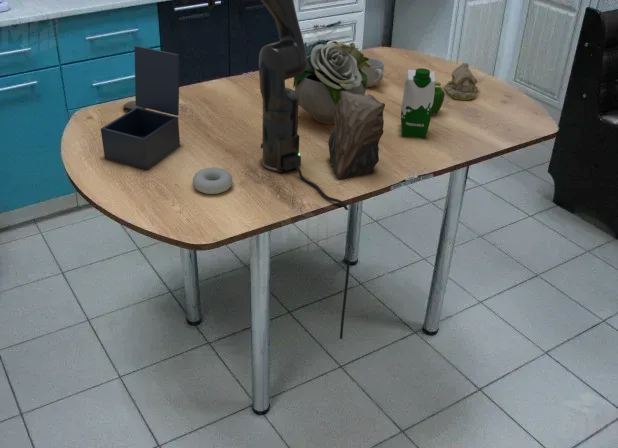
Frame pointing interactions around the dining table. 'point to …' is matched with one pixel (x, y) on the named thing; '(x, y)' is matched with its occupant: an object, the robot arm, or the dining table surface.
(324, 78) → the flower arrangement
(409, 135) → the milk carton
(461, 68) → the ceramic model
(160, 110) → the lid
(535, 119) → the dining table surface
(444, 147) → the dining table surface
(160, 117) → the chest
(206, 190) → the donut
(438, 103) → the bell pepper
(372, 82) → the teacup
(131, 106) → the soupspoon
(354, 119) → the brown rough block
